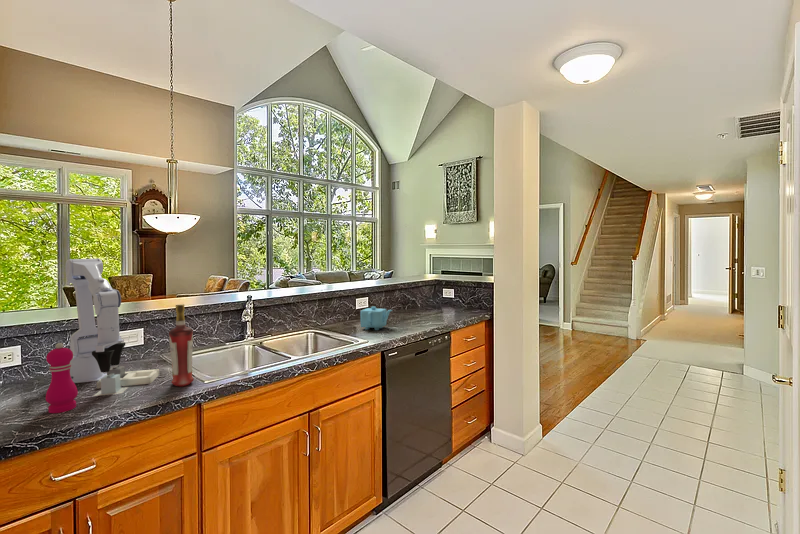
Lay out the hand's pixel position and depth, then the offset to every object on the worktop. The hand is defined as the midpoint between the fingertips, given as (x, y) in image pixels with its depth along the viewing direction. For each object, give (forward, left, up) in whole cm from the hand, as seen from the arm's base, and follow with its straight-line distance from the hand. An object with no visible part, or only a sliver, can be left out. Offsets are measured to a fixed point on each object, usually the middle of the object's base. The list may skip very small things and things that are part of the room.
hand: (110, 368), depth 129 cm
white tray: (+2, +10, -8) cm, 13 cm away
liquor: (+21, +1, -8) cm, 23 cm away
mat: (0, 0, -8) cm, 8 cm away
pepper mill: (-8, -12, -8) cm, 17 cm away
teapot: (+108, +71, -8) cm, 130 cm away
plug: (0, 0, -8) cm, 8 cm away
